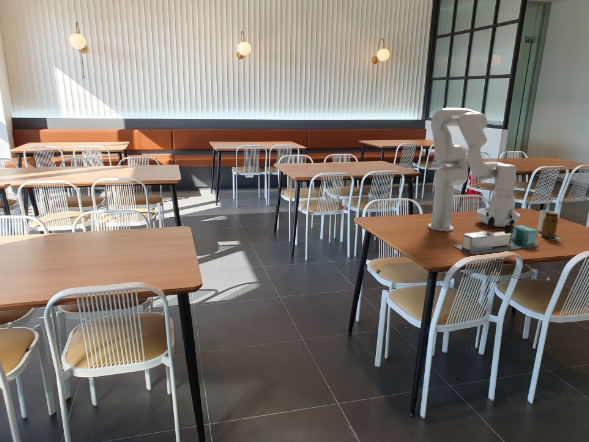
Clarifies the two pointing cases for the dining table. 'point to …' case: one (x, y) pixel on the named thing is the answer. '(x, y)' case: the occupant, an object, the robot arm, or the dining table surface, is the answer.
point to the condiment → (549, 226)
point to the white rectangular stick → (499, 240)
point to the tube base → (519, 240)
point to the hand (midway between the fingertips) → (499, 230)
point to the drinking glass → (542, 218)
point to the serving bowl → (498, 222)
